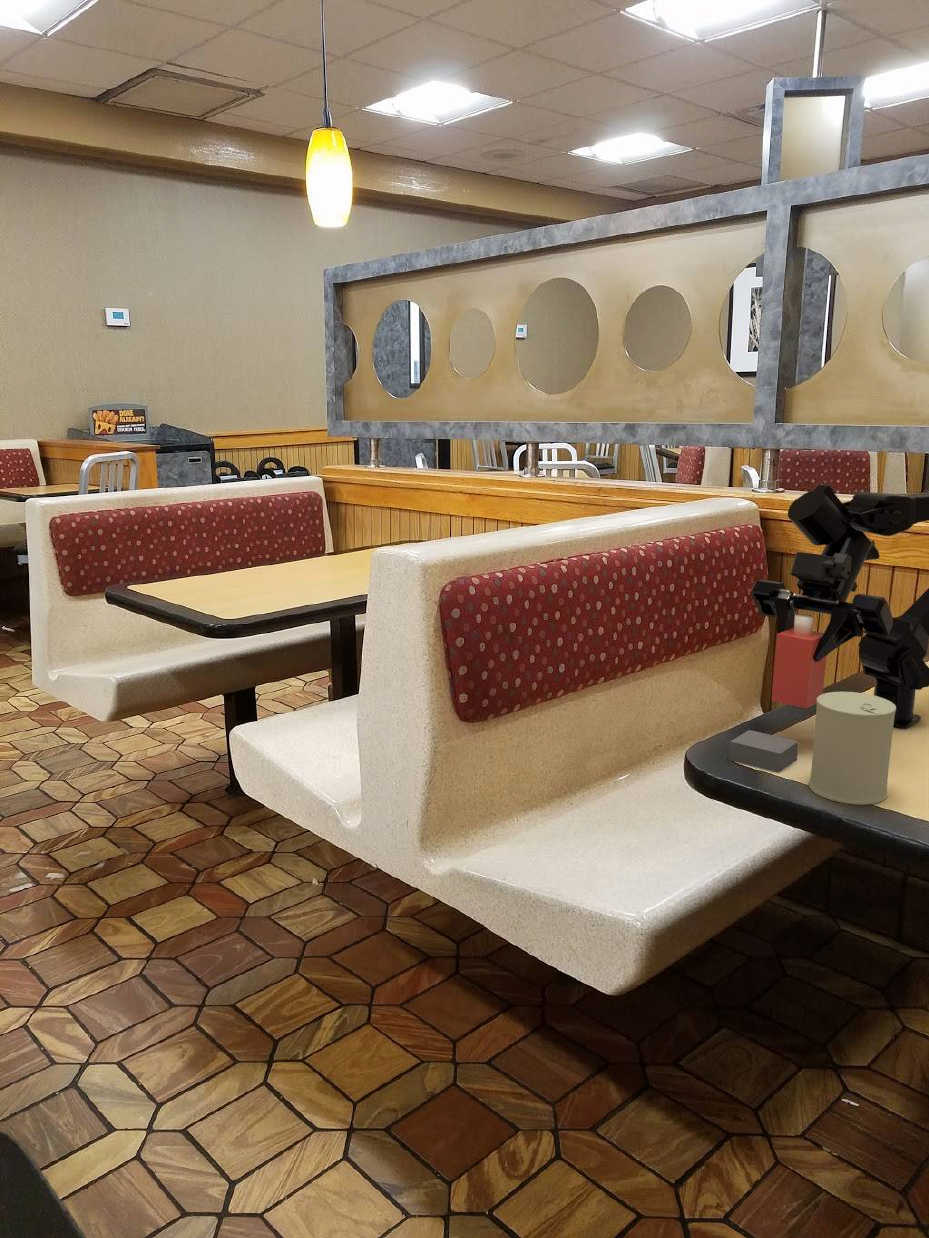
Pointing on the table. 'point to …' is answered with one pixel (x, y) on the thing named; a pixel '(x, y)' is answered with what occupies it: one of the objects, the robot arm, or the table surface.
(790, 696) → the ketchup bottle
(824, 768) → the can
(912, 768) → the table surface
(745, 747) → the grey box
